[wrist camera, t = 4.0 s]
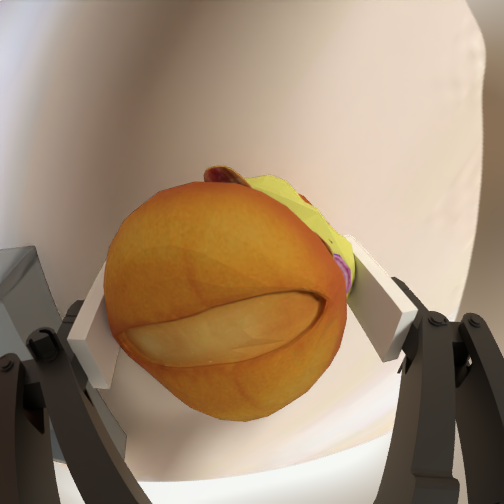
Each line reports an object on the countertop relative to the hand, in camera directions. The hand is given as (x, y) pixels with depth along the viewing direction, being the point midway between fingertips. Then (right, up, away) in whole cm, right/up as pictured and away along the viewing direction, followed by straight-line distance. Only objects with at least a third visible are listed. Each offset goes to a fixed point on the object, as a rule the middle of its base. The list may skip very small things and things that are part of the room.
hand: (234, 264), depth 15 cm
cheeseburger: (0, +1, +1) cm, 1 cm away
